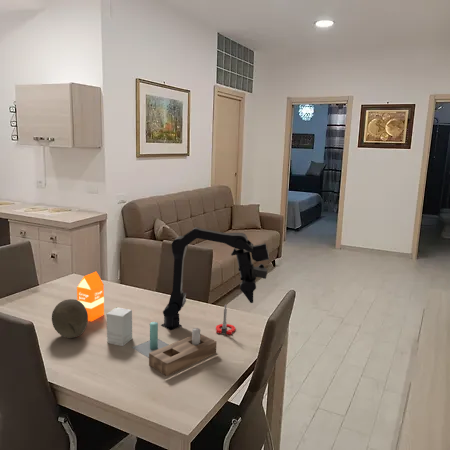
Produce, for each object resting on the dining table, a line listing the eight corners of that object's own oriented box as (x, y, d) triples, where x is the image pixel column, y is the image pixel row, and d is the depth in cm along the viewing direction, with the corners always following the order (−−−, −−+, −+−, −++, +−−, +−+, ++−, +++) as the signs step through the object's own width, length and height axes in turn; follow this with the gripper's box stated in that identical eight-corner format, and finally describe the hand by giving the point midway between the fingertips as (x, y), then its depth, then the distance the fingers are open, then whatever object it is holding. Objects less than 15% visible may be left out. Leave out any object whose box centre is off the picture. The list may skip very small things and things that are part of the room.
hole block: (149, 365, 152) (149, 353, 151) (198, 344, 169) (198, 332, 168) (166, 377, 145) (167, 363, 144) (216, 353, 162) (216, 341, 161)
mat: (131, 348, 164) (131, 347, 164) (156, 338, 172) (156, 337, 172) (150, 359, 156) (150, 358, 156) (175, 349, 164) (175, 348, 164)
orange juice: (77, 318, 189) (76, 275, 185) (90, 311, 197) (89, 269, 193) (91, 321, 186) (90, 278, 182) (104, 314, 194) (103, 272, 190)
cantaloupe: (95, 331, 177) (94, 297, 174) (76, 346, 164) (75, 309, 161) (65, 326, 180) (63, 293, 177) (44, 341, 167) (42, 305, 164)
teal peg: (148, 347, 164) (148, 323, 162) (154, 345, 166) (154, 321, 164) (153, 350, 162) (153, 326, 160) (159, 348, 164) (159, 323, 162)
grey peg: (190, 354, 161) (190, 329, 159) (195, 351, 163) (196, 327, 161) (195, 357, 159) (196, 332, 157) (201, 354, 161) (201, 329, 159)
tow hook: (217, 325, 188) (213, 333, 179) (219, 297, 186) (215, 304, 177) (236, 327, 187) (233, 335, 178) (238, 299, 185) (235, 306, 176)
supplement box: (132, 339, 171) (132, 309, 169) (122, 347, 165) (122, 316, 162) (117, 335, 174) (116, 306, 171) (106, 343, 167) (105, 313, 164)
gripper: (264, 266, 166) (271, 303, 168) (263, 254, 184) (270, 288, 186) (236, 271, 167) (244, 308, 169) (238, 258, 185) (245, 292, 188)
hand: (252, 298), depth 178 cm, fingers open, 9 cm apart
